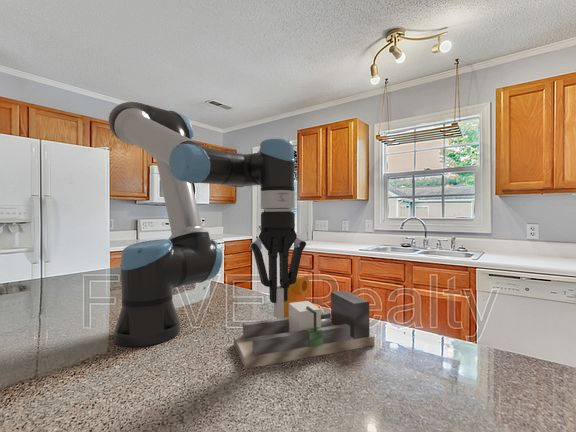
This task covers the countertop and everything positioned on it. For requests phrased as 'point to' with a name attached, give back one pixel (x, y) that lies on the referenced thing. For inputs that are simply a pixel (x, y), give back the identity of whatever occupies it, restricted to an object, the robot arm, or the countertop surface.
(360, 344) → the base
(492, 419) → the countertop surface
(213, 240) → the robot arm
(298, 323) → the gauge carriage
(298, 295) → the bracket
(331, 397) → the countertop surface
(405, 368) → the countertop surface
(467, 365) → the countertop surface
